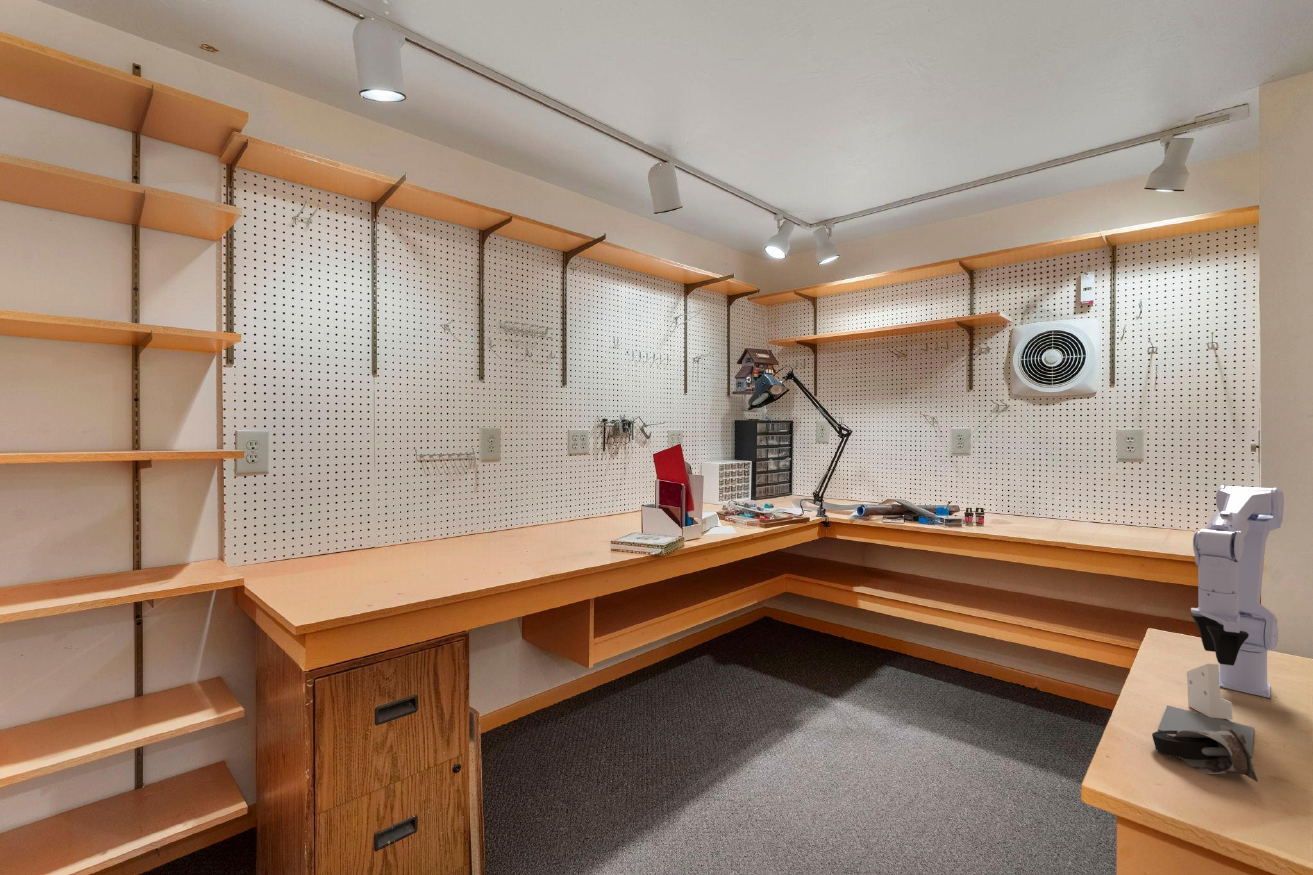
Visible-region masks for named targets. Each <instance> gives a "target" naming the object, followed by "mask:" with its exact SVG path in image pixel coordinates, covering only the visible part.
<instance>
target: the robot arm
mask: <svg viewBox="0 0 1313 875" xmlns="http://www.w3.org/2000/svg"><path fill="white" fill-rule="evenodd" d="M1215 503H1216V508H1217V509H1218V512H1217V513H1215V514H1213V515H1212V517H1210V519H1209V520H1208V521H1209V522H1207V525H1206V526H1205V528H1201V529H1200V531H1199V530H1195V532H1194V534H1193V538H1192V548H1193V553H1194V562H1195V565H1196V566H1197V570H1198V571H1197V572H1198V574H1197V582H1198V583H1197V584H1198V585H1197V587H1198V591H1197V592H1198V594H1197V595H1198V596H1197V597H1198V599H1197V600H1198V603H1197V604H1198V607H1191V608H1190V612H1191V613H1190V616H1191V617H1192V619H1193V620H1194V622H1195V624H1196V627H1197V628H1198V631H1199V634H1200V635H1199V636H1200V639H1201V642H1202V646H1203V648H1204V651H1206V652H1212V653H1214V654H1215V657H1216V660H1217V664H1218V665H1219V680H1220V688H1224V689H1229V690H1233V691H1237V692H1241V693H1245V694H1250V695H1256V696H1259V697H1264V698H1271V683H1270V682H1268V652H1269V651H1271V652H1272V651H1273V650H1275V649H1276V648H1277V646H1278V641H1279V640H1278V639H1279V630H1278V629H1279V628H1278V617H1276V615H1275V613H1274V612H1272V611H1271V610H1270V609H1268V608H1266V607H1265V606H1264V605H1263V604H1261V597H1262V596H1261V594H1262V587H1263V586H1262V584H1263V573H1264V565H1265V564H1264V563H1265V554H1266V543H1267V540H1268V536H1269V534H1270V531H1273V530H1277V529H1281V525H1282V524H1283V518H1284V508H1285V507H1284V506H1285V498H1284V493H1283V490H1282V489H1280V488H1279V487H1255V486H1254V487H1253V486H1251V487H1250V486H1233V485H1232V486H1231V485H1225V484H1223V485H1220V486H1219V487H1217V490H1216V495H1215Z"/></svg>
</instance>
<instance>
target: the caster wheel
mask: <svg viewBox="0 0 1313 875" xmlns="http://www.w3.org/2000/svg"><path fill="white" fill-rule="evenodd" d="M1220 727H1221V730H1222V731H1198V730H1183V731H1172V730H1168V731H1158V730H1156V731H1155V732H1152V735H1151V737H1152V741H1153V744H1154V748H1155V750H1156V751H1157V752H1158V753H1159V754H1162V755H1165V756H1169V757H1171V758H1172V757H1173V758H1177V759H1181V760H1182V761H1183V762H1185V764H1186V765H1187V766H1189V767H1190V768H1192V769H1193V770H1196V771H1198V772H1200V773H1202V774H1206V775H1207V774H1209V775H1233V776H1234V775H1240V776H1246V777H1248V778H1249V779H1251V780H1252V781H1255V782H1256V783H1258V781H1259V780H1258V777H1257V774H1256V770H1255V768H1254V764H1253V761H1252V758H1251V757H1250V753H1249V750H1248V747H1247V744H1246V740H1245V737H1244V735H1243V734H1241V733H1239V732H1237V731H1234V730H1232V729H1230V728H1227V727H1225V726H1223V725H1220Z"/></svg>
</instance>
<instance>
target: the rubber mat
mask: <svg viewBox="0 0 1313 875" xmlns="http://www.w3.org/2000/svg"><path fill="white" fill-rule="evenodd" d="M1220 725H1223V726H1225V727H1227V728H1230V729H1232V730H1234V731H1237V732H1239V733H1241V734H1243V735H1244V737H1245V740H1246V744H1247V747H1248V750H1249V753H1250V757H1251V759H1253V754H1254V752H1253V751H1254V738H1255V727H1253V726H1249V725H1246V724H1241V723H1239V722H1238V723H1237V722H1233V721H1230V720H1228V719H1221V718H1211V717H1208V716H1207V715H1205V714H1203V713H1200V712H1195V711H1191V710H1187V709H1184V708H1179V707H1176V706H1171V705H1166V707H1165V710H1164V712H1163V715H1162V718H1161V721H1160V723H1159V725H1158V728H1157V731H1168V730H1172V731H1183V730H1198V731H1222V730H1221V727H1220Z"/></svg>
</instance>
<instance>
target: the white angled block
mask: <svg viewBox="0 0 1313 875" xmlns="http://www.w3.org/2000/svg"><path fill="white" fill-rule="evenodd" d="M1219 672H1220V665H1219V663H1217V664H1215V663H1206V664H1204V665H1200V666H1198V667H1195V668H1193V669H1190V670H1188V671H1187V672H1186V682H1187V683H1186V685H1187V701H1188V702H1187V704H1188V707H1190V708H1191V709H1193V710H1195V711H1197V712H1198V713H1200V714H1203V715H1207V716H1208V717H1211V718H1219V719H1223V720H1233V716H1234V715H1233V703H1232V701H1229V700H1227V699H1225V698H1223V697H1222V696H1221V687H1220V680H1219Z"/></svg>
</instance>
